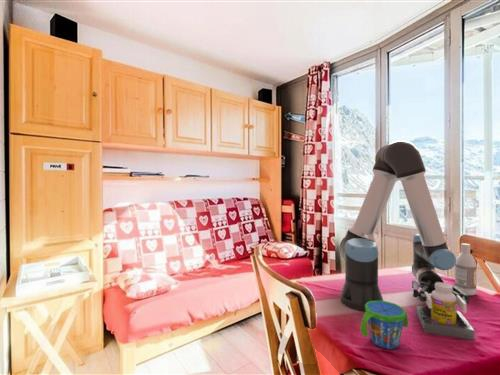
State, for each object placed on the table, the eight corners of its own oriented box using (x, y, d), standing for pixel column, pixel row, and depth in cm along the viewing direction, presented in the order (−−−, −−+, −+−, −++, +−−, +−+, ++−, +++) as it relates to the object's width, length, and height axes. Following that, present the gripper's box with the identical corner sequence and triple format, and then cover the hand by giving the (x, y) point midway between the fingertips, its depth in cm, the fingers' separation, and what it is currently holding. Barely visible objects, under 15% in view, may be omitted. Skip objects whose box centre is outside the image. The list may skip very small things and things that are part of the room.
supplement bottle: (429, 325, 89) (428, 285, 89) (432, 317, 94) (432, 279, 94) (455, 332, 84) (454, 290, 84) (457, 324, 89) (457, 284, 89)
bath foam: (474, 297, 110) (475, 246, 110) (453, 292, 115) (453, 244, 115) (477, 292, 115) (477, 243, 115) (456, 287, 120) (457, 241, 120)
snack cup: (394, 329, 88) (394, 297, 88) (422, 348, 78) (422, 312, 77) (350, 336, 84) (349, 303, 84) (373, 358, 74) (373, 320, 74)
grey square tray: (424, 332, 86) (424, 322, 86) (416, 314, 97) (416, 305, 97) (474, 340, 81) (474, 330, 81) (459, 320, 93) (459, 311, 93)
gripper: (462, 294, 102) (490, 324, 81) (398, 287, 110) (408, 312, 88) (462, 273, 102) (490, 298, 81) (398, 268, 109) (407, 289, 88)
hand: (447, 306), depth 85 cm, fingers open, 8 cm apart
